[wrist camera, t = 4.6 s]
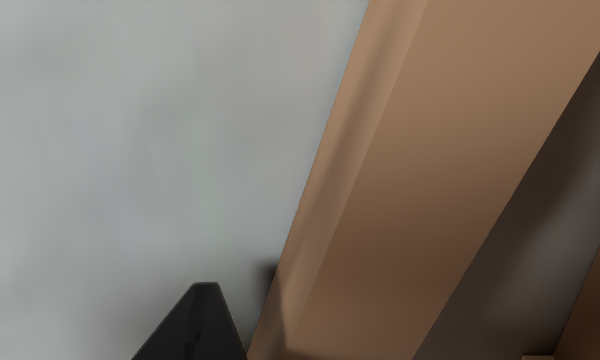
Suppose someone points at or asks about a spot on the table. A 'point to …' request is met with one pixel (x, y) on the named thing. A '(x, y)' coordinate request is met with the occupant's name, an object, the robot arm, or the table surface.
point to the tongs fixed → (581, 323)
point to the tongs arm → (418, 168)
